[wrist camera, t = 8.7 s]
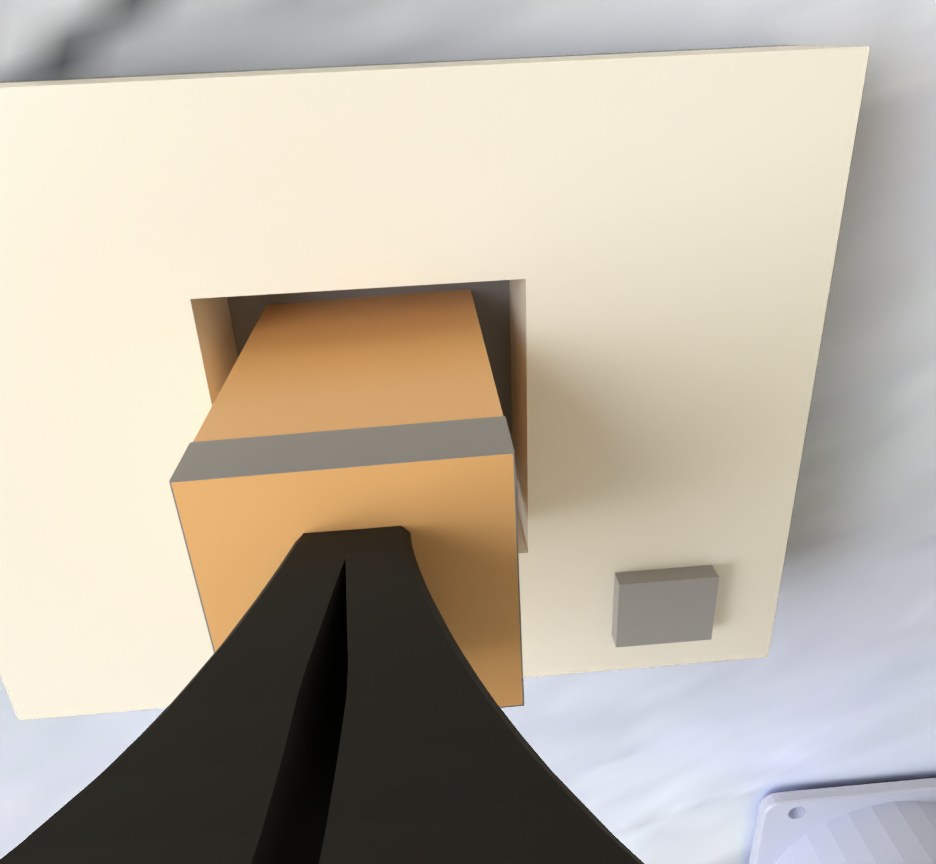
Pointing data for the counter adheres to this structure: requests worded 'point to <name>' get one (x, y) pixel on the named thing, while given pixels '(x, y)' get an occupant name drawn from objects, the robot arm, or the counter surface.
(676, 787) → the counter surface
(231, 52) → the counter surface
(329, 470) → the plug
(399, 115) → the socket
